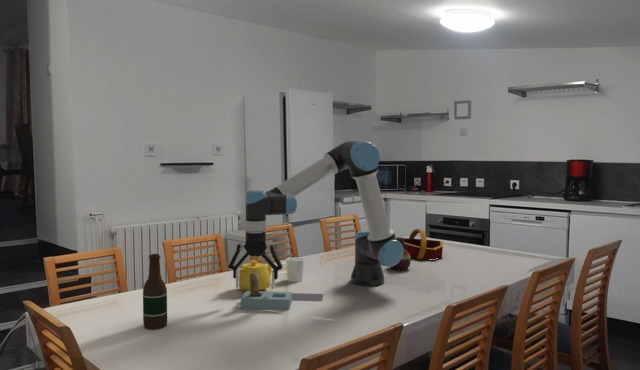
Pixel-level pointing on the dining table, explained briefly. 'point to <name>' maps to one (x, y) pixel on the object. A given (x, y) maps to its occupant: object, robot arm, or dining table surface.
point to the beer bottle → (154, 297)
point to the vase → (403, 258)
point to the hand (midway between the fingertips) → (255, 287)
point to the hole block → (267, 300)
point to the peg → (254, 285)
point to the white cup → (295, 269)
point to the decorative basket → (423, 246)
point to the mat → (306, 297)
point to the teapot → (254, 268)
